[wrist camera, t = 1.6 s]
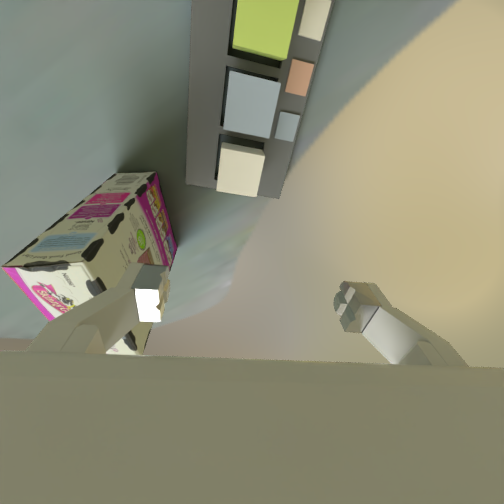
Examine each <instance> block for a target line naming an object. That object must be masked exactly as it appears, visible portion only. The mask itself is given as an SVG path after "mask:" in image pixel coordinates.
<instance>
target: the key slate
mask: <svg viewBox="0 0 504 504" xmlns="http://www.w3.org/2000/svg"><path fill="white" fill-rule="evenodd" d="M280 86H281V83H278V82H274V81H270V80H266V79H262V78H258V77H254V76H250V75H246V74H242V73H238V72H234V71H230V74H229V83H228V92H227V101H226V109H225V118H224V127H223V129H224V130H229V131H234V132H239V133H244V134H249V135H254V136H259V137H264V138H269V137H270V132H271V127H272V123H273V118H274V114H275V109H276V105H277V100H278V95H279V91H280Z"/></svg>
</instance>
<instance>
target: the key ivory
mask: <svg viewBox="0 0 504 504" xmlns="http://www.w3.org/2000/svg"><path fill="white" fill-rule="evenodd" d="M264 160H265V155H264V153H263V150H261V149H256V148H251V147H246V146H240V145H235V144H230V143H225V142H222V146H221V154H220V163H219V172H218V181H217V190H216V191H219V192H226V193H232V194H238V195H245V196H251V197H256V196H257V192H258V187H259V183H260V178H261V173H262V169H263V164H264Z"/></svg>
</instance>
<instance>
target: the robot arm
mask: <svg viewBox="0 0 504 504" xmlns="http://www.w3.org/2000/svg"><path fill="white" fill-rule="evenodd" d="M169 274H170V271H169V266H165V265H156V264H147V263H145V264H144V263H136V262H132V263H130V264H129V266H128V268H127V269H126V271H125V273H124V274H123V276H122V278H121V279H120V281H119V282H118V284H117V286H116V287H115V288H112V287H111V288H110V289H108V290H106V291H104V292H102V293H100V294H99V295H97V296H95V297H93V298H91V299H89V300H88V301H86V302H84V303H82V304H80V305H78V306H77V307H75V308H73V309H71V310H69V311H67V312H66V313H64V314H62V315H60V316H58V317H56V318H54V319H53V320H51V321H49V322H48V323H47V325H46V326H45V327H44V328H43V330H42V331H41V332H40V333H39V334H38V336H37V337H36V338H35V339H34V341H33V342H32V343H31V344H30V346H29V347H28V348H27V349H26V351H4V350H0V504H504V368H494V367H493V368H492V367H469V366H468V365H467V364H466V362H465V361H464V360H463V359H462V358H461V356H460V355H459V354H458V353H457V352H456V350H455V349H454V348H453V347H452V346H451V345H450V343H449V342H447V341H446V340H444V339H443V338H441V337H440V336H438V335H437V334H435V333H434V332H432V331H431V330H429V329H427V328H426V327H425V326H423V325H421V324H420V323H419V322H417V321H415V320H414V319H412V318H411V317H409V316H408V315H406V314H405V313H403V312H402V311H400V310H399V309H397V308H393V307H392V305H391V304H390V303H389V301H388V300H387V299H386V297H385V296H384V294H383V293H382V292H381V290H380V289H379V288H378V286H377V285H376V284H374V283H366V282H364V283H362V282H350V281H344V282H343V283H342V284H341V285H340V290H341V291H340V292H338V293H337V294H336V296H335V298H334V309H335V311H336V313H337V314H338V315H340V316H341V318H340V322H341V324H342V326H343V329H344V331H345V332H353V333H362V335H363V336H364V337H365V338H366V339H367V340H368V341H369V342H370V343H371V344H372V345H373V346H374V347H375V348H376V349H377V350H378V351H379V352H380V353H381V354H382V355H383V356H384V357H385V358H386V359H387V360H388V361H389V362H390V363H391V364H378V363H351V362H322V361H320V362H319V361H292V360H263V359H236V358H205V357H177V356H149V355H121V354H106V352H107V351H108V350H109V349H110V348H111V347H112V346H113V345H114V344H116V343H117V342H118V341H119V340H120V339H121V338H122V337H123V336H125V335H126V334H127V333H128V332H129V331H130V330H131V329H132V328H134V327H135V326H136V325H137V324H138V323H139V321H148V322H161V319H162V316H163V313H164V310H165V307H164V304H165V303H166V302H167V301H168V297H169V292H170V280H169V279H168V276H169Z"/></svg>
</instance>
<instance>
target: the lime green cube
mask: <svg viewBox="0 0 504 504" xmlns="http://www.w3.org/2000/svg"><path fill="white" fill-rule="evenodd" d="M298 4H299V0H238V3H237V12H236V20H235V29H234V38H233V48H234V49H238V50H241V51H245V52H249V53H253V54H256V55H260V56H264V57H268V58H271V59H275V60H279V61H282V60H284V59H287V54H288V49H289V45H290V40H291V36H292V31H293V27H294V22H295V17H296V13H297V8H298Z"/></svg>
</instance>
